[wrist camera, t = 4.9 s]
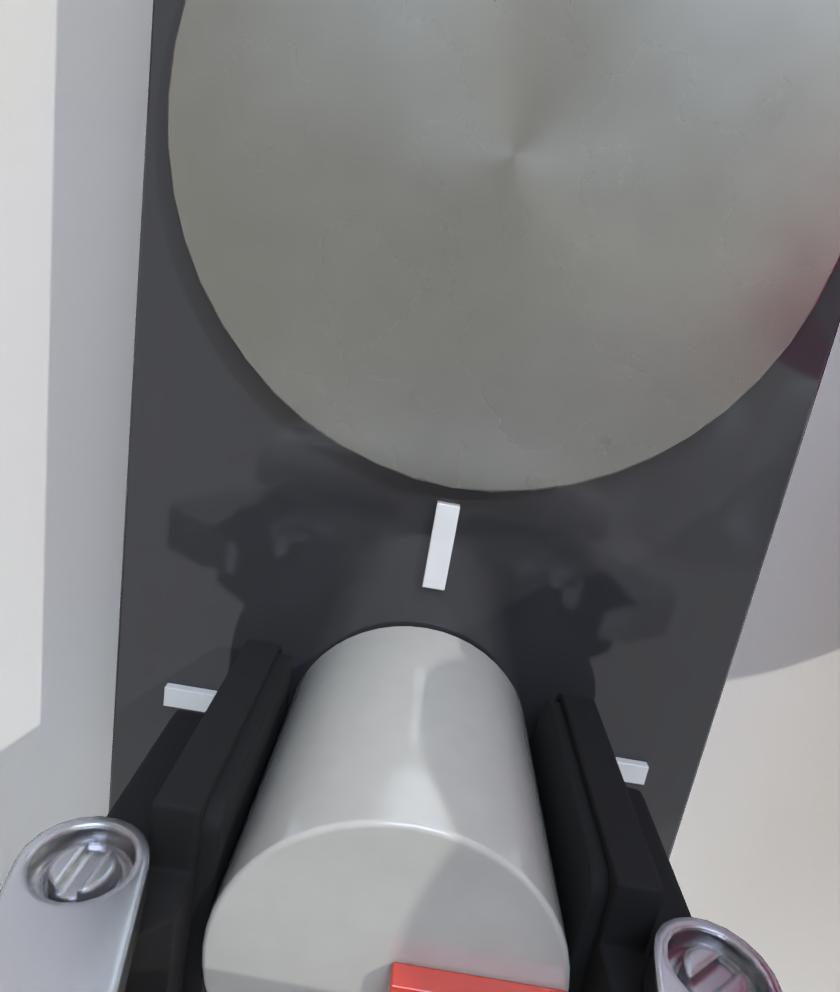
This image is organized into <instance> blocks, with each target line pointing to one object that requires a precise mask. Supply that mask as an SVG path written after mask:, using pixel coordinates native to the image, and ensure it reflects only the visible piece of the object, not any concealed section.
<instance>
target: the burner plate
mask: <svg viewBox="0 0 840 992" xmlns="http://www.w3.org/2000/svg"><path fill="white" fill-rule="evenodd" d="M168 148H169V157H170V166H171V174H172V183H173V192H174V197H175V201H176V205H177V210H178V214H179V218H180V222H181V227H182V231H183V235H184V239H185V242H186V245H187V248H188V250H189V253H190V256H191V259H192V261H193V264H194V267H195V270H196V272H197V275H198V278H199V281H200V283H201V285H202V287H203V289H204V291H205V293H206V295H207V297H208V299H209V301H210V303H211V305H212V307H213V309H214V311H215V313H216V315H217V317H218V319H219V321H220V323H221V325H222V326H223V328H224V329H225V331H226V332H227V334H228V335H229V337H230V338H231V339H232V341H233V342H234V344H235V345H236V347H237V348H238V350H239V351H240V353H241V354H242V356H243V357H244V359H245V360H246V362H247V363H248V364H249V365H250V366H251V367H252V369H253V370H254V371H255V372H256V373H257V374H258V376H259V377H260V378H261V379H262V380H263V381H264V382H265V384H266V385H267V386H268V387H269V388H270V389H271V391H272V392H273V393H274V394H275V395H276V396H277V397H278V398H280V399H281V400H282V401H283V402H284V403H285V404H286V405H287V406H288V407H290V408H291V409H292V410H293V411H294V412H295V413H296V414H297V415H298V416H299V417H301V418H302V419H303V420H304V421H305V422H306V423H308V424H309V425H311V426H312V427H314V428H315V429H316V430H318V431H319V432H321V433H322V434H324V435H325V436H326V437H328V438H329V439H331V440H332V441H334V442H335V443H336V444H338V445H339V446H341V447H343V448H345V449H347V450H349V451H351V452H353V453H355V454H356V455H358V456H360V457H362V458H364V459H366V460H368V461H370V462H372V463H374V464H376V465H378V466H381V467H384V468H386V469H389V470H392V471H394V472H397V473H400V474H402V475H405V476H408V477H410V478H413V479H417V480H421V481H426V482H430V483H434V484H438V485H443V486H447V487H451V488H459V489H468V490H478V491H488V492H516V491H537V490H544V489H551V488H558V487H564V486H571V485H576V484H579V483H583V482H587V481H590V480H594V479H597V478H601V477H605V476H608V475H612V474H615V473H617V472H620V471H622V470H625V469H627V468H629V467H632V466H634V465H637V464H639V463H641V462H644V461H646V460H649V459H651V458H653V457H655V456H657V455H659V454H660V453H662V452H664V451H666V450H667V449H669V448H671V447H673V446H675V445H676V444H678V443H680V442H682V441H683V440H685V439H687V438H689V437H690V436H692V435H693V434H695V433H696V432H697V431H699V430H700V429H701V428H703V427H704V426H706V425H707V424H708V423H710V422H711V421H712V420H714V419H715V418H716V417H718V416H719V415H721V414H722V413H723V412H725V411H726V410H727V409H728V408H729V407H730V406H731V405H732V404H734V403H735V402H736V401H737V400H738V399H739V398H740V397H741V396H742V395H743V394H744V393H745V392H746V391H748V390H749V389H750V388H751V387H752V386H753V385H754V384H755V383H756V382H757V381H758V380H759V379H760V378H761V377H762V376H763V375H764V373H765V372H766V371H767V370H768V369H769V368H770V366H771V365H772V364H773V363H774V362H775V361H776V359H777V358H778V357H779V356H780V355H781V353H782V352H783V351H784V350H785V349H786V348H787V346H788V345H789V344H790V343H791V341H792V340H793V338H794V337H795V335H796V334H797V332H798V331H799V329H800V328H801V326H802V325H803V323H804V322H805V320H806V319H807V317H808V316H809V314H810V313H811V311H812V310H813V308H814V307H815V305H816V304H817V302H818V300H819V298H820V296H821V294H822V292H823V290H824V288H825V286H826V284H827V282H828V280H829V278H830V276H831V274H832V273H833V271H834V269H835V267H836V265H837V263H838V261H839V258H840V0H185V3H184V7H183V11H182V16H181V20H180V24H179V28H178V32H177V36H176V40H175V44H174V52H173V60H172V69H171V77H170V85H169V93H168Z"/></svg>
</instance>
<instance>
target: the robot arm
mask: <svg viewBox="0 0 840 992" xmlns="http://www.w3.org/2000/svg"><path fill="white" fill-rule="evenodd" d="M292 664H293V655H289V654H283V653H282V644H277V643H272V642H266V641H260V640H255V639H248V640H247V642H246V643H245V645H244V647H243V648H242V650H241V652H240V654H239V655H238V657H237V659H236V660H235V662H234V664H233V666H232V667H231V669H230V671H229V672H228V674H227V676H226V678H225V679H224V681H223V683H222V684H221V686H220V688H219V690H218V691H217V693H216V695H215V696H214V698H213V700H212V702H211V703H210V705H209V707H208V708H207V710H206V712H205V713H199V712H193V711H187V710H182V709H180V710H178V711H176V713H175V714H174V715H173V716H172V718H171V719H170V721H169V722H168V724H167V725H166V727H165V728H164V730H163V731H162V733H161V734H160V736H159V737H158V739H157V740H156V742H155V743H154V745H153V747H152V748H151V750H150V751H149V753H148V754H147V756H146V757H145V759H144V760H143V762H142V763H141V765H140V766H139V768H138V769H137V771H136V772H135V774H134V775H133V777H132V778H131V780H130V782H129V783H128V785H127V786H126V788H125V789H124V791H123V792H122V794H121V795H120V797H119V798H118V800H117V801H116V803H115V804H114V806H113V807H112V809H111V810H110V812H109V814H108V815H107V817H103V816H96V817H83V818H77V819H74V820H70V821H67V822H63V823H60V824H58V825H56V826H54V827H52V828H50V829H48V830H46V831H44V832H42V833H41V834H39V835H38V836H37V837H36V838H34V839H33V840H32V841H31V842H30V843H28V844H27V845H26V846H25V847H24V849H23V850H22V852H21V853H20V854H19V856H18V857H17V859H16V860H15V862H14V864H13V866H12V868H11V870H10V872H9V874H8V877H7V879H6V881H5V883H4V885H3V887H2V889H1V890H0V992H207V991H206V988H205V984H204V977H203V969H202V942H203V937H204V932H205V927H206V923H207V920H208V918H209V915H210V912H211V910H212V907H213V904H214V902H215V899H216V897H217V894H218V891H219V889H220V886H221V884H222V881H223V878H224V876H225V873H226V871H227V868H228V865H229V863H230V860H231V858H232V855H233V852H234V850H235V847H236V845H237V842H238V839H239V837H240V834H241V832H242V829H243V826H244V824H245V821H246V819H247V816H248V813H249V811H250V808H251V806H252V803H253V800H254V798H255V795H256V793H257V790H258V787H259V785H260V782H261V780H262V777H263V774H264V772H265V769H266V767H267V764H268V761H269V759H270V756H271V754H272V751H273V748H274V746H275V743H276V740H277V738H278V735H279V733H280V730H281V727H282V725H283V722H284V720H285V713H286V706H287V699H288V692H289V685H290V678H291V671H292ZM531 755H532V760H533V765H534V770H535V776H536V781H537V786H538V792H539V797H540V802H541V807H542V813H543V818H544V823H545V828H546V834H547V839H548V844H549V850H550V855H551V860H552V865H553V871H554V876H555V881H556V887H557V892H558V897H559V902H560V908H561V913H562V918H563V924H564V929H565V934H566V939H567V945H568V951H569V959H570V986H569V991H568V992H782V990H781V988H780V985H779V983H778V981H777V979H776V976H775V974H774V973H773V971H772V970H771V969H770V967H769V966H768V965H767V963H766V962H765V961H764V959H763V958H762V957H761V955H759V954H758V953H757V952H756V951H755V950H754V949H753V948H752V947H751V946H750V945H749V944H748V943H747V942H745V941H744V940H743V939H741V938H740V937H738V936H737V935H735V934H734V933H732V932H731V931H729V930H728V929H726V928H724V927H721V926H719V925H717V924H714V923H712V922H710V921H708V920H703V919H698V918H693V917H691V915H690V912H689V910H688V907H687V905H686V902H685V900H684V897H683V895H682V892H681V890H680V887H679V885H678V882H677V880H676V877H675V875H674V872H673V870H672V867H671V865H670V862H669V860H668V857H667V855H666V852H665V850H664V847H663V844H662V842H661V839H660V837H659V834H658V832H657V829H656V827H655V824H654V822H653V819H652V817H651V814H650V812H649V809H648V807H647V804H646V802H645V799H644V797H643V795H642V794H641V792H640V791H639V790H637V789H636V788H630V787H626V785H625V782H624V779H623V776H622V774H621V771H620V768H619V766H618V763H617V760H616V758H615V755H614V752H613V749H612V747H611V744H610V741H609V739H608V736H607V733H606V731H605V728H604V725H603V723H602V720H601V717H600V714H599V712H598V709H597V706H596V704H595V702H594V700H593V699H591V698H585V697H579V696H574V695H568V694H562V693H559V694H558V695H557V697H556V699H555V701H551V700H545V701H544V703H543V706H542V710H541V714H540V717H539V721H538V725H537V729H536V733H535V737H534V741H533V745H532V749H531Z"/></svg>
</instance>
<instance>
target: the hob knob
mask: <svg viewBox="0 0 840 992" xmlns="http://www.w3.org/2000/svg"><path fill="white" fill-rule="evenodd" d="M202 969H203V977H204V984H205V988H206V991H207V992H568V991H569V986H570V959H569V951H568V945H567V939H566V934H565V929H564V924H563V918H562V913H561V908H560V902H559V897H558V892H557V887H556V881H555V876H554V871H553V865H552V860H551V855H550V850H549V844H548V839H547V834H546V828H545V823H544V818H543V813H542V807H541V802H540V797H539V792H538V786H537V781H536V776H535V770H534V765H533V760H532V755H531V749H530V744H529V739H528V733H527V728H526V723H525V718H524V713H523V710H522V706H521V703H520V700H519V698H518V695H517V693H516V691H515V689H514V687H513V685H512V684H511V682H510V681H509V679H508V678H507V676H506V675H505V674H504V672H503V671H502V670H501V669H500V668H499V667H498V665H497V664H496V663H495V662H494V661H492V660H491V659H490V658H489V657H488V656H487V655H486V654H485V653H483V652H482V651H480V650H479V649H477V648H476V647H474V646H473V645H471V644H469V643H468V642H466V641H464V640H462V639H460V638H458V637H455V636H453V635H450V634H447V633H444V632H442V631H437V630H433V629H429V628H422V627H413V626H393V627H385V628H378V629H374V630H370V631H367V632H363V633H360V634H358V635H355V636H353V637H350V638H348V639H346V640H344V641H342V642H341V643H339V644H337V645H335V646H334V647H332V648H331V649H330V650H328V651H327V652H326V653H324V654H323V655H322V656H321V657H320V658H319V659H318V660H317V661H316V662H315V663H314V664H313V665H312V666H311V667H310V668H309V670H308V671H307V672H306V674H305V675H304V676H303V678H302V680H301V681H300V683H299V685H298V687H297V689H296V691H295V694H294V696H293V699H292V701H291V704H290V707H289V709H288V712H287V714H286V717H285V720H284V722H283V725H282V727H281V730H280V733H279V735H278V738H277V740H276V743H275V746H274V748H273V751H272V754H271V756H270V759H269V761H268V764H267V767H266V769H265V772H264V774H263V777H262V780H261V782H260V785H259V787H258V790H257V793H256V795H255V798H254V800H253V803H252V806H251V808H250V811H249V813H248V816H247V819H246V821H245V824H244V826H243V829H242V832H241V834H240V837H239V839H238V842H237V845H236V847H235V850H234V852H233V855H232V858H231V860H230V863H229V865H228V868H227V871H226V873H225V876H224V878H223V881H222V884H221V886H220V889H219V891H218V894H217V897H216V899H215V902H214V904H213V907H212V910H211V912H210V915H209V918H208V920H207V923H206V927H205V932H204V937H203V942H202Z"/></svg>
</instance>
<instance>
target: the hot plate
mask: <svg viewBox="0 0 840 992" xmlns="http://www.w3.org/2000/svg"><path fill="white" fill-rule="evenodd" d="M184 3H185V0H153V16H152V34H151V52H150V71H149V89H148V107H147V125H146V144H145V162H144V180H143V198H142V216H141V235H140V253H139V271H138V289H137V308H136V326H135V344H134V362H133V381H132V399H131V417H130V435H129V453H128V472H127V490H126V508H125V526H124V545H123V563H122V581H121V599H120V618H119V636H118V654H117V672H116V691H115V709H114V727H113V745H112V763H111V782H110V800H109V812H110V810H111V809H112V807H113V806H114V804H115V803H116V801H117V800H118V798H119V797H120V795H121V794H122V792H123V791H124V789H125V788H126V786H127V785H128V783H129V782H130V780H131V778H132V777H133V775H134V774H135V772H136V771H137V769H138V768H139V766H140V765H141V763H142V762H143V760H144V759H145V757H146V756H147V754H148V753H149V751H150V750H151V748H152V747H153V745H154V743H155V742H156V740H157V739H158V737H159V736H160V734H161V733H162V731H163V730H164V728H165V727H166V725H167V724H168V722H169V721H170V719H171V718H172V716H173V715H174V714H175V713H176V711H178V710H180V709H182V710H187V711H193V712H199V713H205V712H206V710H207V708H208V707H209V705H210V703H211V702H212V700H213V698H214V696H215V695H216V693H217V691H218V690H219V688H220V686H221V684H222V683H223V681H224V679H225V678H226V676H227V674H228V672H229V671H230V669H231V667H232V666H233V664H234V662H235V660H236V659H237V657H238V655H239V654H240V652H241V650H242V648H243V647H244V645H245V643H246V642H247V640H248V639H255V640H260V641H266V642H272V643H277V644H282V653H283V654H289V655H293V664H292V671H291V678H290V685H289V692H288V699H287V706H286V713H285V717H286V714H287V712H288V709H289V707H290V704H291V701H292V699H293V696H294V694H295V691H296V689H297V687H298V685H299V683H300V681H301V680H302V678H303V676H304V675H305V674H306V672H307V671H308V670H309V668H310V667H311V666H312V665H313V664H314V663H315V662H316V661H317V660H318V659H319V658H320V657H321V656H322V655H323V654H324V653H326V652H327V651H328V650H330V649H331V648H332V647H334V646H335V645H337V644H339V643H341V642H342V641H344V640H346V639H348V638H350V637H353V636H355V635H358V634H360V633H363V632H367V631H370V630H374V629H378V628H385V627H393V626H413V627H422V628H429V629H433V630H437V631H442V632H444V633H447V634H450V635H453V636H455V637H458V638H460V639H462V640H464V641H466V642H468V643H469V644H471V645H473V646H474V647H476V648H477V649H479V650H480V651H482V652H483V653H485V654H486V655H487V656H488V657H489V658H490V659H491V660H492V661H494V662H495V663H496V664H497V665H498V667H499V668H500V669H501V670H502V671H503V672H504V674H505V675H506V676H507V678H508V679H509V681H510V682H511V684H512V685H513V687H514V689H515V691H516V693H517V695H518V698H519V700H520V703H521V706H522V710H523V713H524V718H525V723H526V728H527V733H528V739H529V744H530V749H532V745H533V741H534V737H535V733H536V729H537V725H538V721H539V717H540V714H541V710H542V706H543V703H544V701H545V700H551V701H555V699H556V697H557V695H558V694H559V693H562V694H568V695H574V696H579V697H585V698H591V699H593V700H594V702H595V704H596V706H597V709H598V712H599V714H600V717H601V720H602V723H603V725H604V728H605V731H606V733H607V736H608V739H609V741H610V744H611V747H612V749H613V752H614V755H615V758H616V760H617V763H618V766H619V768H620V771H621V774H622V776H623V779H624V782H625V785H626V787H630V788H636V789H637V790H639V791H640V792H641V794H642V795H643V797H644V799H645V802H646V804H647V807H648V809H649V812H650V814H651V817H652V819H653V822H654V824H655V827H656V829H657V832H658V834H659V837H660V839H661V842H662V844H663V847H664V850H665V852H666V855H667V857H668V860H669V858H670V854H671V851H672V848H673V845H674V842H675V839H676V836H677V832H678V829H679V826H680V823H681V820H682V817H683V814H684V810H685V807H686V804H687V801H688V798H689V795H690V792H691V788H692V785H693V782H694V779H695V776H696V773H697V770H698V766H699V763H700V760H701V757H702V754H703V751H704V748H705V744H706V741H707V738H708V735H709V732H710V729H711V725H712V722H713V719H714V716H715V713H716V710H717V707H718V703H719V700H720V697H721V694H722V691H723V688H724V685H725V681H726V678H727V675H728V672H729V669H730V666H731V663H732V659H733V656H734V653H735V650H736V647H737V644H738V641H739V637H740V634H741V631H742V628H743V625H744V622H745V619H746V615H747V612H748V609H749V606H750V603H751V600H752V596H753V593H754V590H755V587H756V584H757V581H758V578H759V574H760V571H761V568H762V565H763V562H764V559H765V556H766V552H767V549H768V546H769V543H770V540H771V537H772V534H773V530H774V527H775V524H776V521H777V518H778V515H779V512H780V508H781V505H782V502H783V499H784V496H785V493H786V490H787V486H788V483H789V480H790V477H791V474H792V471H793V467H794V464H795V461H796V458H797V455H798V452H799V449H800V445H801V442H802V439H803V436H804V433H805V430H806V427H807V423H808V420H809V417H810V414H811V411H812V408H813V405H814V401H815V398H816V395H817V392H818V389H819V386H820V383H821V379H822V376H823V373H824V370H825V367H826V364H827V361H828V357H829V354H830V351H831V348H832V345H833V342H834V338H835V335H836V332H837V329H838V326H839V323H840V258H839V261H838V263H837V265H836V267H835V269H834V271H833V273H832V274H831V276H830V278H829V280H828V282H827V284H826V286H825V288H824V290H823V292H822V294H821V296H820V298H819V300H818V302H817V304H816V305H815V307H814V308H813V310H812V311H811V313H810V314H809V316H808V317H807V319H806V320H805V322H804V323H803V325H802V326H801V328H800V329H799V331H798V332H797V334H796V335H795V337H794V338H793V340H792V341H791V343H790V344H789V345H788V346H787V348H786V349H785V350H784V351H783V352H782V353H781V355H780V356H779V357H778V358H777V359H776V361H775V362H774V363H773V364H772V365H771V366H770V368H769V369H768V370H767V371H766V372H765V373H764V375H763V376H762V377H761V378H760V379H759V380H758V381H757V382H756V383H755V384H754V385H753V386H752V387H751V388H750V389H749V390H748V391H746V392H745V393H744V394H743V395H742V396H741V397H740V398H739V399H738V400H737V401H736V402H735V403H734V404H732V405H731V406H730V407H729V408H728V409H727V410H726V411H725V412H723V413H722V414H721V415H719V416H718V417H716V418H715V419H714V420H712V421H711V422H710V423H708V424H707V425H706V426H704V427H703V428H701V429H700V430H699V431H697V432H696V433H695V434H693V435H692V436H690V437H689V438H687V439H685V440H683V441H682V442H680V443H678V444H676V445H675V446H673V447H671V448H669V449H667V450H666V451H664V452H662V453H660V454H659V455H657V456H655V457H653V458H651V459H649V460H646V461H644V462H641V463H639V464H637V465H634V466H632V467H629V468H627V469H625V470H622V471H620V472H617V473H615V474H612V475H608V476H605V477H601V478H597V479H594V480H590V481H587V482H583V483H579V484H576V485H571V486H564V487H558V488H551V489H544V490H537V491H516V492H488V491H478V490H468V489H459V488H451V487H447V486H443V485H438V484H434V483H430V482H426V481H421V480H417V479H413V478H410V477H408V476H405V475H402V474H400V473H397V472H394V471H392V470H389V469H386V468H384V467H381V466H378V465H376V464H374V463H372V462H370V461H368V460H366V459H364V458H362V457H360V456H358V455H356V454H355V453H353V452H351V451H349V450H347V449H345V448H343V447H341V446H339V445H338V444H336V443H335V442H334V441H332V440H331V439H329V438H328V437H326V436H325V435H324V434H322V433H321V432H319V431H318V430H316V429H315V428H314V427H312V426H311V425H309V424H308V423H306V422H305V421H304V420H303V419H302V418H301V417H299V416H298V415H297V414H296V413H295V412H294V411H293V410H292V409H291V408H290V407H288V406H287V405H286V404H285V403H284V402H283V401H282V400H281V399H280V398H278V397H277V396H276V395H275V394H274V393H273V392H272V391H271V389H270V388H269V387H268V386H267V385H266V384H265V382H264V381H263V380H262V379H261V378H260V377H259V376H258V374H257V373H256V372H255V371H254V370H253V369H252V367H251V366H250V365H249V364H248V363H247V362H246V360H245V359H244V357H243V356H242V354H241V353H240V351H239V350H238V348H237V347H236V345H235V344H234V342H233V341H232V339H231V338H230V337H229V335H228V334H227V332H226V331H225V329H224V328H223V326H222V325H221V323H220V321H219V319H218V317H217V315H216V313H215V311H214V309H213V307H212V305H211V303H210V301H209V299H208V297H207V295H206V293H205V291H204V289H203V287H202V285H201V283H200V281H199V278H198V275H197V272H196V270H195V267H194V264H193V261H192V259H191V256H190V253H189V250H188V248H187V245H186V242H185V239H184V235H183V231H182V227H181V222H180V218H179V214H178V210H177V205H176V201H175V197H174V192H173V183H172V174H171V166H170V157H169V148H168V93H169V85H170V77H171V69H172V60H173V52H174V44H175V40H176V36H177V32H178V28H179V24H180V20H181V16H182V11H183V7H184Z"/></svg>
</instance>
